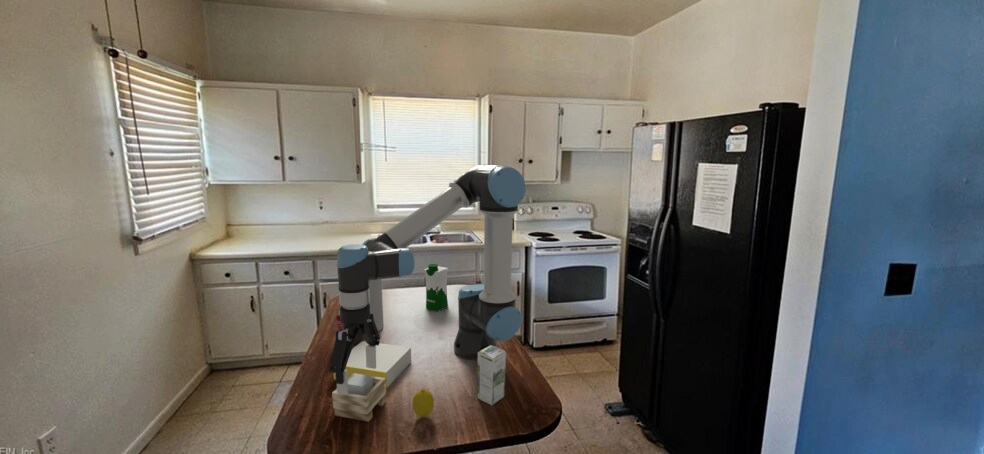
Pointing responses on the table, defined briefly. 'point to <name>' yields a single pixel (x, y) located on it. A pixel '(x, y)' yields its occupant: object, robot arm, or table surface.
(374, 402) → the wooden crate with cube
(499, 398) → the syrup box
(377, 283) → the cylinder vase
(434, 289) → the milk carton
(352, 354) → the dock
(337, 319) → the soda can
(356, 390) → the cargo block
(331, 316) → the table surface
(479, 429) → the table surface
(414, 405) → the lemon
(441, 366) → the table surface
